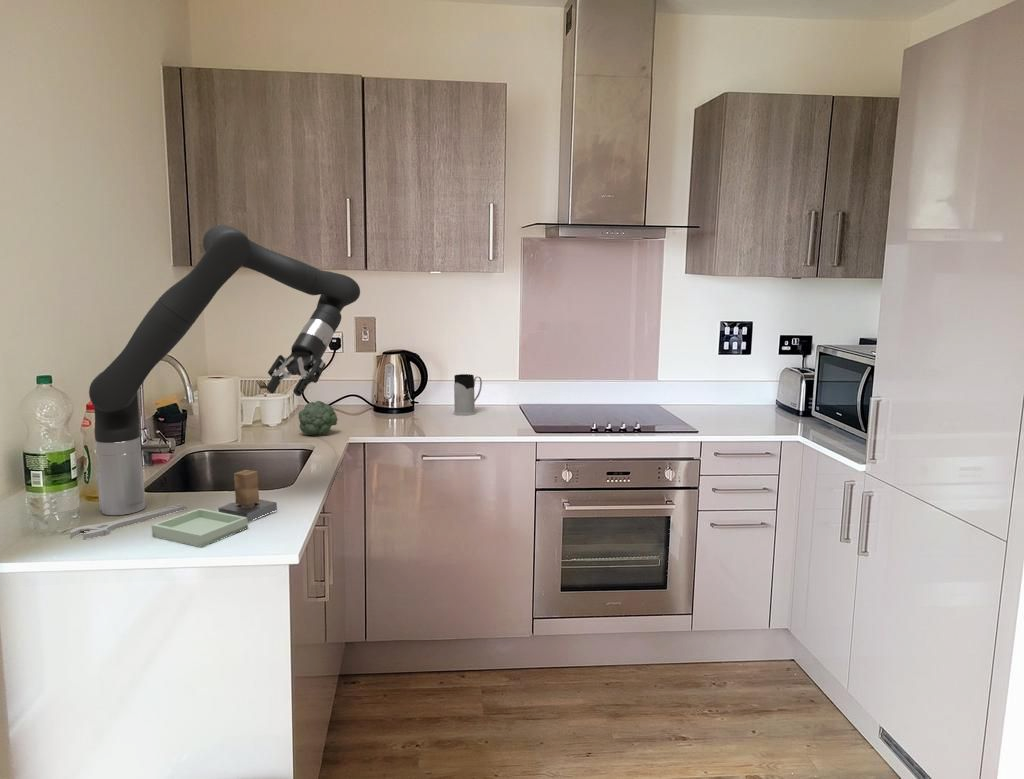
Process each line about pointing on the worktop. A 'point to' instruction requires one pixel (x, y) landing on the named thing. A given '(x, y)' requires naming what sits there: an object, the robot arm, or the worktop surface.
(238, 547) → the worktop surface
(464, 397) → the grey black mug
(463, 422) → the worktop surface
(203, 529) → the tray
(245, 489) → the wooden square peg
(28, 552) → the worktop surface
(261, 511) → the socket block
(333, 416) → the vegetable
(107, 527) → the adjustable wrench
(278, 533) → the worktop surface
